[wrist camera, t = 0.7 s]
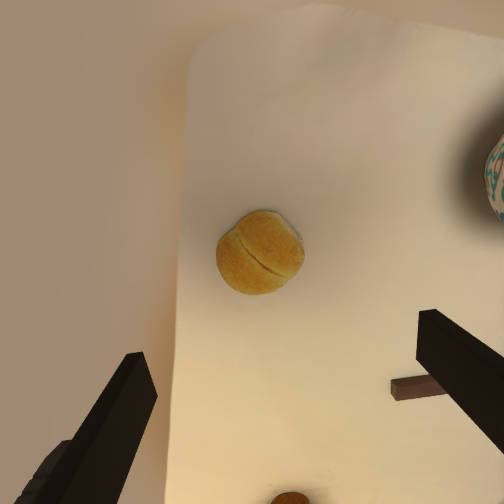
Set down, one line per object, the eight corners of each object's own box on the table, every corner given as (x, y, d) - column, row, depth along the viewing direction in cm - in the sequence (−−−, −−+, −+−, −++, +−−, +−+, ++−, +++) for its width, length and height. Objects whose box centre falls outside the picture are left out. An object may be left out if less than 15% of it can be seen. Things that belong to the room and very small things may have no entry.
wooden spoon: (391, 366, 33) (398, 375, 32) (558, 343, 33) (571, 350, 31) (390, 405, 35) (396, 414, 34) (546, 383, 35) (558, 392, 34)
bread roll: (203, 254, 27) (196, 268, 24) (263, 196, 26) (267, 200, 22) (255, 302, 29) (257, 322, 26) (314, 251, 28) (326, 264, 24)
